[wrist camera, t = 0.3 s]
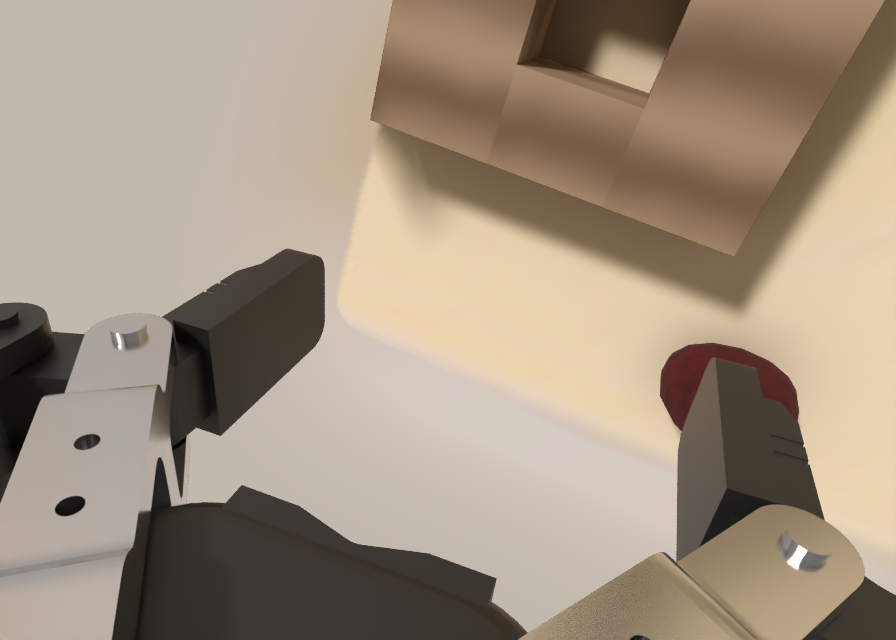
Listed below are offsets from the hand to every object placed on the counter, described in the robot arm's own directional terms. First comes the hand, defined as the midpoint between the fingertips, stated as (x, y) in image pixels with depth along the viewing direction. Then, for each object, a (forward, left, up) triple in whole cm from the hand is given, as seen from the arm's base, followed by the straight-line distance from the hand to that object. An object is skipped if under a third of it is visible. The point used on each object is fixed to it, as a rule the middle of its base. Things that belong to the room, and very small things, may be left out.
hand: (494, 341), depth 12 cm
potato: (+14, +14, -29) cm, 35 cm away
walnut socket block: (-5, -2, -29) cm, 30 cm away
